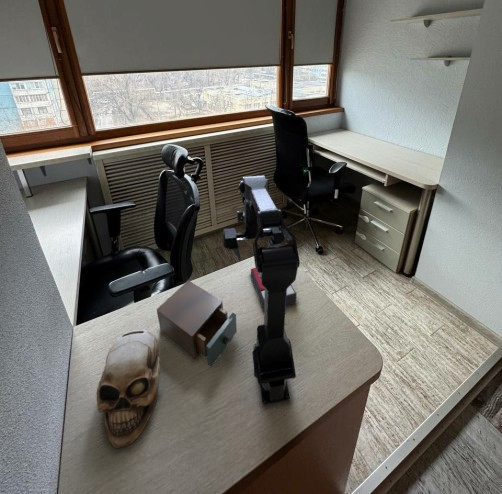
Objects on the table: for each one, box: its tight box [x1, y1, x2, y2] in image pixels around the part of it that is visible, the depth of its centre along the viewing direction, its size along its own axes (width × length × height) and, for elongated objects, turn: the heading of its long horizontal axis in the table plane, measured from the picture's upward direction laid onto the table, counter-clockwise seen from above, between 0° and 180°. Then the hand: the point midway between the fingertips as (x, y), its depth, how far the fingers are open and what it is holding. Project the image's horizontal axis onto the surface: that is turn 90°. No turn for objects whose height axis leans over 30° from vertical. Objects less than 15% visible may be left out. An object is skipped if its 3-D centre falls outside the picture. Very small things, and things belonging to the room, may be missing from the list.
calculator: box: [250, 267, 297, 311], centre depth 90 cm, size 11×4×15 cm
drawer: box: [195, 307, 237, 368], centre depth 74 cm, size 14×11×7 cm
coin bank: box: [96, 329, 161, 449], centre depth 62 cm, size 16×17×13 cm
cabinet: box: [156, 279, 224, 360], centre depth 77 cm, size 14×12×9 cm
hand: (253, 256), depth 84 cm, fingers open, 9 cm apart
